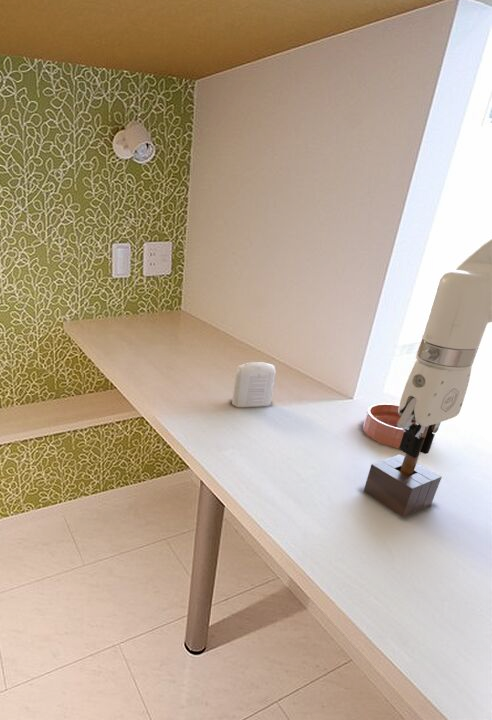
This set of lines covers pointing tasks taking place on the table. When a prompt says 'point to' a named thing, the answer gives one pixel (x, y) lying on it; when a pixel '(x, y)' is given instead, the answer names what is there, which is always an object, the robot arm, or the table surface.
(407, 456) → the stick
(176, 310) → the table surface
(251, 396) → the photo printer
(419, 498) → the stand
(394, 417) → the bowl
